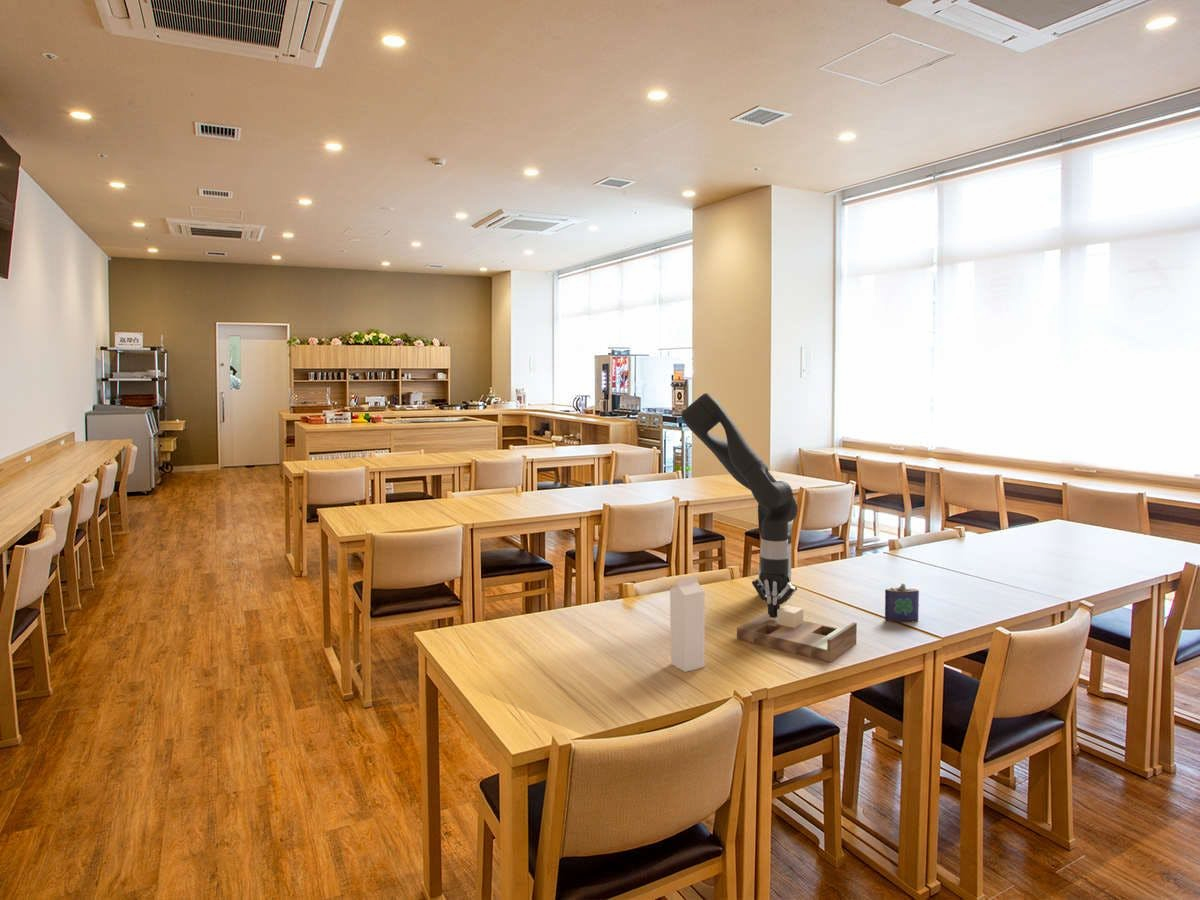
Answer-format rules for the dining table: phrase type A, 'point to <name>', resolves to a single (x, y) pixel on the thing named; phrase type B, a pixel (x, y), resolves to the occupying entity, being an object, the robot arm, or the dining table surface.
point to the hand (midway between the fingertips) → (773, 616)
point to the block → (790, 616)
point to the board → (799, 637)
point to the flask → (901, 604)
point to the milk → (687, 624)
